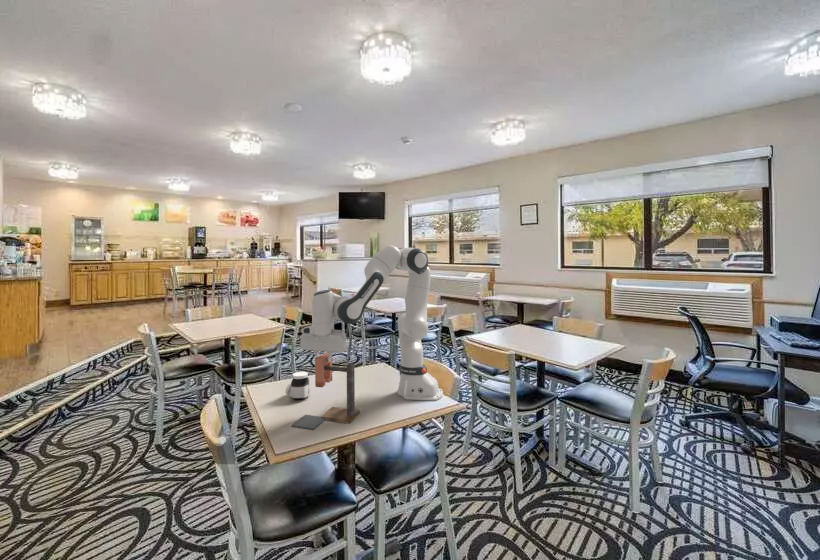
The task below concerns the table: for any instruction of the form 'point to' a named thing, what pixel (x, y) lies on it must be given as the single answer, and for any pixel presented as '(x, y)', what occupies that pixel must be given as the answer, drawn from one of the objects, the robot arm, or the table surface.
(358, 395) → the table surface
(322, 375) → the link
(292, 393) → the spread jar
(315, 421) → the coaster
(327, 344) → the robot arm
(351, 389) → the stand
